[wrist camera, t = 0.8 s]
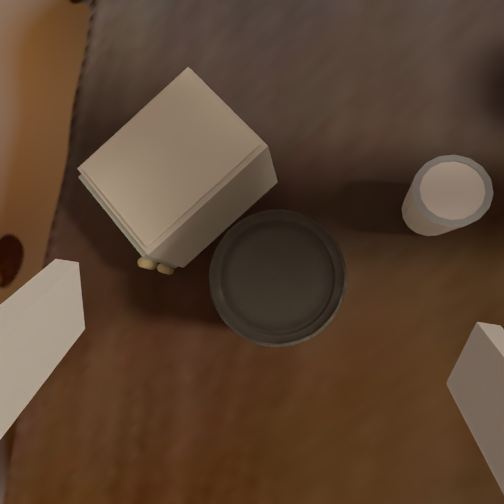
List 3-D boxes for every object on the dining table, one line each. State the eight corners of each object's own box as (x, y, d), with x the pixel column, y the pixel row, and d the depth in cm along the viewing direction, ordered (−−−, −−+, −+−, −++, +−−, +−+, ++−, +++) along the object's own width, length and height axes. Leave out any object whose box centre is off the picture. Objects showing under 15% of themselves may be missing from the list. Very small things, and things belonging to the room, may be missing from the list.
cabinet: (278, 182, 43) (268, 144, 33) (173, 277, 43) (133, 267, 34) (213, 116, 46) (186, 64, 36) (115, 206, 46) (62, 177, 36)
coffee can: (225, 305, 42) (183, 301, 28) (270, 227, 43) (251, 186, 29) (306, 354, 40) (302, 375, 26) (352, 271, 40) (372, 248, 27)
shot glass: (477, 215, 39) (512, 194, 32) (425, 254, 39) (448, 242, 32) (431, 168, 41) (456, 139, 34) (382, 206, 41) (396, 185, 34)
